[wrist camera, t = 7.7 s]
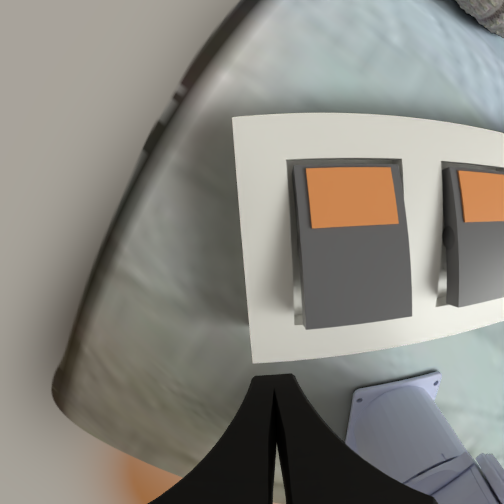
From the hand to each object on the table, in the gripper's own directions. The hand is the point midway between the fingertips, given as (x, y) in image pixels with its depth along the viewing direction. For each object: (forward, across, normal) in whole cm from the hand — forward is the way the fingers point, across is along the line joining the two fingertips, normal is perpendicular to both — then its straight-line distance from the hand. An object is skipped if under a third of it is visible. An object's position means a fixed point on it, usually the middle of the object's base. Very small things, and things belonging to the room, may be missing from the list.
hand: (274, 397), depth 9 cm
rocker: (+5, -4, -4) cm, 8 cm away
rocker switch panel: (+9, -12, -4) cm, 16 cm away
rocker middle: (+5, -12, -4) cm, 14 cm away
